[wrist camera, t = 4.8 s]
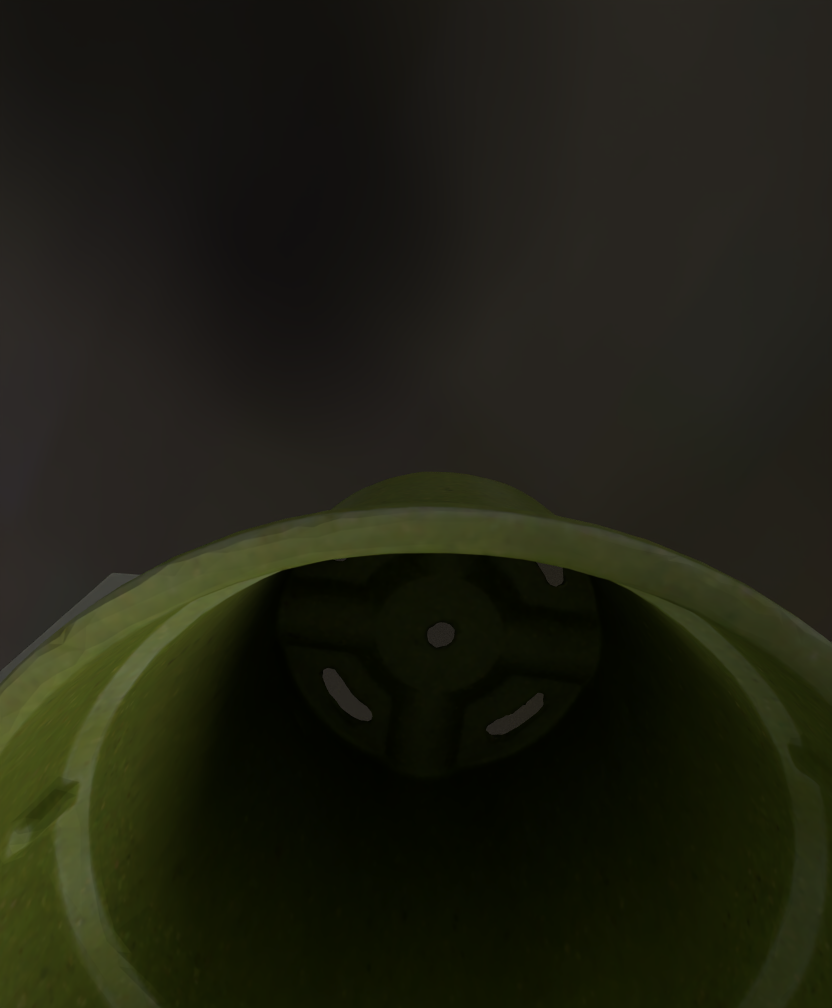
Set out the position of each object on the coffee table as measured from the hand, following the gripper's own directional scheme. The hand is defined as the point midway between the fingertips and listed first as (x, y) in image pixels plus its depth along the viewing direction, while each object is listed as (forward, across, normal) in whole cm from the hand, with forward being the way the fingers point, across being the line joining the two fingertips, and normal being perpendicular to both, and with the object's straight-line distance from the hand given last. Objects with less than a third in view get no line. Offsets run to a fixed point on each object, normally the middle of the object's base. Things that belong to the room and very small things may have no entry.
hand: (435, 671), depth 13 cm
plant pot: (+2, 0, 0) cm, 2 cm away
